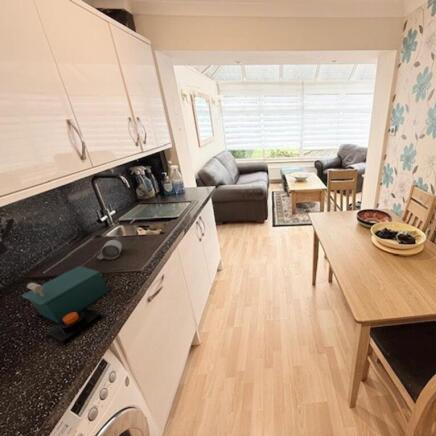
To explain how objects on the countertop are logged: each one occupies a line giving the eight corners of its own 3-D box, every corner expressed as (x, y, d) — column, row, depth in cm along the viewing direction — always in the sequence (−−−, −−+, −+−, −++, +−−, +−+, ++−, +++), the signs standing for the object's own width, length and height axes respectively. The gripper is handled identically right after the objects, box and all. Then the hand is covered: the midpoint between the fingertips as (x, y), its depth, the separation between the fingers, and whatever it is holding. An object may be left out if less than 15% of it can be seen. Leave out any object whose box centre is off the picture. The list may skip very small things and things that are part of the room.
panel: (65, 344, 74) (59, 337, 72) (49, 336, 77) (43, 328, 76) (101, 317, 83) (97, 310, 82) (86, 311, 86) (81, 304, 85)
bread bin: (59, 324, 82) (46, 304, 78) (40, 314, 86) (26, 295, 83) (109, 291, 96) (100, 273, 92) (89, 284, 100) (80, 267, 96)
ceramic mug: (124, 248, 125) (118, 236, 122) (122, 256, 118) (116, 243, 115) (100, 255, 121) (93, 242, 118) (97, 263, 114) (90, 250, 111)
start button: (69, 325, 77) (66, 322, 76) (62, 322, 78) (60, 319, 77) (81, 317, 80) (79, 313, 79) (75, 314, 81) (72, 310, 80)
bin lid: (42, 306, 77) (34, 293, 75) (22, 296, 82) (14, 285, 80) (100, 273, 92) (94, 262, 89) (80, 267, 96) (74, 256, 94)
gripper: (-8, 192, 73) (23, 240, 81) (-79, 209, 63) (-36, 263, 70) (4, 194, 71) (34, 244, 78) (-69, 212, 60) (-25, 267, 67)
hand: (1, 253), depth 74 cm, fingers closed
